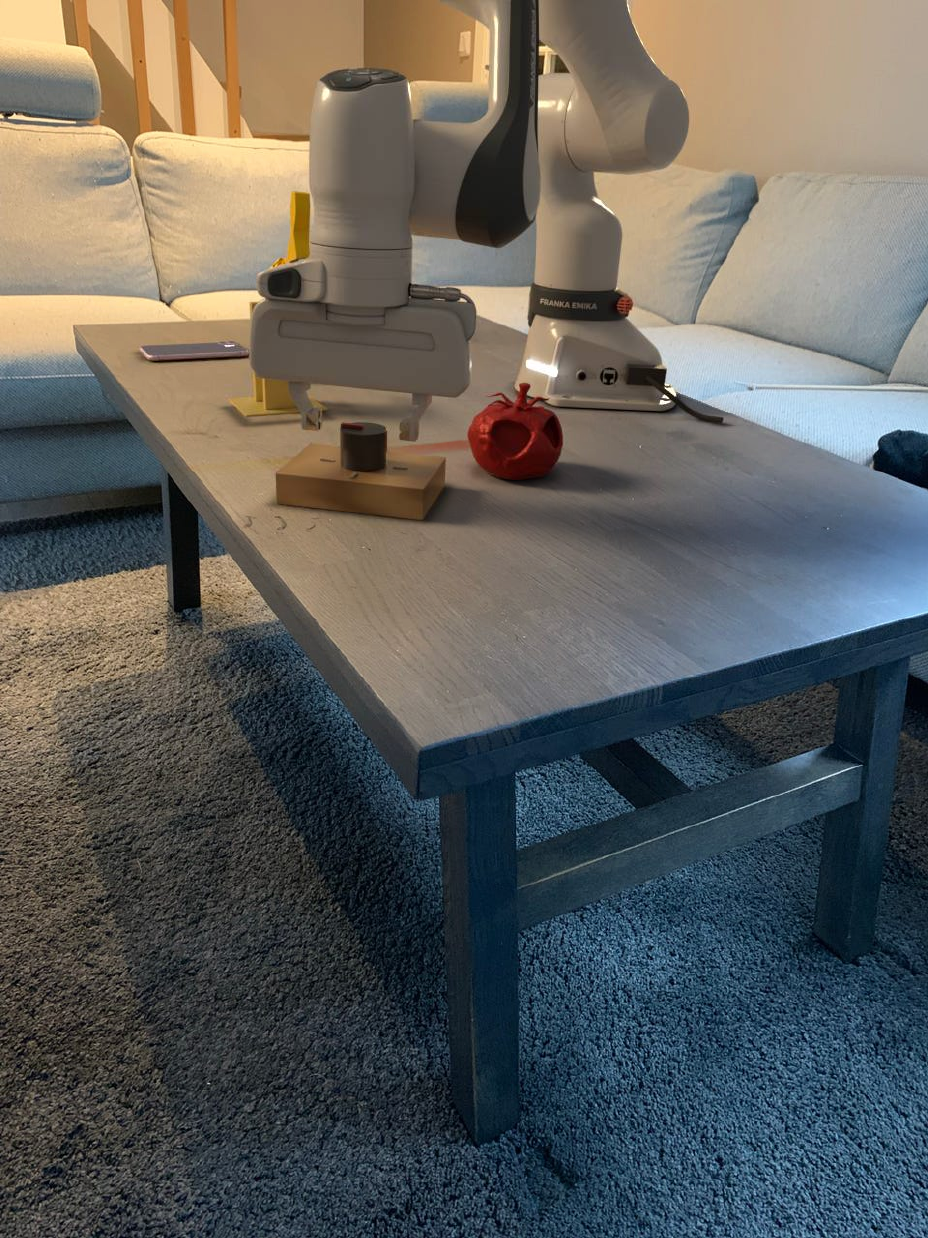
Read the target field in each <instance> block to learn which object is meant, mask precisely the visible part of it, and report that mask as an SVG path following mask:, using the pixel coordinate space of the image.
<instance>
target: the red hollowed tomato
mask: <svg viewBox="0 0 928 1238" xmlns="http://www.w3.org/2000/svg"><path fill="white" fill-rule="evenodd" d="M519 387H520V392H518V391H517V390H516V391H515V396H517V397H516V400H515V401H514V402H513V401H512V400H510V398H508V397H507V396H506V395H505V394H504V393H503V392H496V393H493V394H492V395H486V398H493V397H498V396H500V397H501V398H502V399H503V400H501V399H497V400H494V401H493V402H491V403H490V404H487V406H486V407H484V409H483V410H482V411H481V412H479V413H478V414H476V415H475V416H474V417H473V418H472V421H471V424H470V425H469V427H468V429H467V430H468V431H467V440H468V443H469V446H470V450H471V453H472V456H473V458H474V460H475V462H476V463H477V465H478V466H479V467H480V468H481V469H482V470H483V471H485V472H486V473H488V474H490V475H491V476H495V477H497V478H500V479H504V480H505V479H506V480H514V481H515V480H518V481H519V480H526V479H534V478H540V477H545V476H546V475H547V474H549V473H550V472H552V470H553V469H554V468H555V466H556V465H557V463H558V461H559V459H560V457H561V454H562V449H563V445H564V435H563V427H562V424H561V422H560V420H559V417H558V416H557V414H556V413H555V412H554V411H552V410H551V409H548V408H545V407H544V406H542V405H538V406H535V404H536V403H538V402H539V401H540V402H541V401H542V402H545V401H548V400H549V398H548V399H545V398H542V397H535V398H534V397H533V398H532V399H530V400H529V401H528V398H527V397H528V395H527V392H528V391H529V389H530V384H528V383H520V384H519Z"/></svg>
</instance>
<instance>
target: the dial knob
mask: <svg viewBox="0 0 928 1238" xmlns="http://www.w3.org/2000/svg"><path fill="white" fill-rule="evenodd" d="M339 433H340V435H339V446H340V460H341V466H343V467H344V468H346V469H349V470H354V471H375V470H380V469H383V468H384V467H386V465H387V451H388V428H387V427H386V426H385V425H383V424H379V423H375V422H369V421H366V422H365V421H357V422H341V423H340V428H339Z"/></svg>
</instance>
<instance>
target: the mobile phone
mask: <svg viewBox="0 0 928 1238" xmlns="http://www.w3.org/2000/svg"><path fill="white" fill-rule="evenodd" d="M139 351H140V353H141V354H142V355H143V356H144V357H145V359H147V360H148V361H150V362H151V361H152V362H156V361H157V362H160V361H161V362H162V361H176V360H177V361H179V360H197V359H199V360H200V359H216V358H218V359H219V358H236V357H237V358H238V357H247V356H249V349H248V348H245V346H243V345H242V344H240V343H239V342H237V341H232V340H229V341H218V342H197V343H195V342H193V343H174V344H149V345H142V346H140V347H139Z"/></svg>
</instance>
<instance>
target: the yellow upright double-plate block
mask: <svg viewBox="0 0 928 1238" xmlns="http://www.w3.org/2000/svg"><path fill="white" fill-rule="evenodd" d="M258 302H259V301H249V316H250V317H249V318H250V319H249V320H250V324H251V316H252V312H253V309H254V307H255V306H256V304H257V303H258ZM252 379H253V380H252V381H253V396H245V397H231V398H230V397H229V398H228V402H230V404H232V406H234V407H235V408H236V409H237V410H238V411H239V412H240V413H241V414H242V415H243V416H244V417H245V418H248V417H263V416H276V415H289V414H301V412H300V411H299V409H298V407H297V406H296V404H295V402H294V401H293V399H292V397H291V395H290V394H289V381H282V380H272V379H262V378H259V377H258V376H257V375H256V374H255V372H254V371H253V370H252ZM307 395H308V397H309V399H310V401H311V403H312V405H313V407H314V408H316V409H322V412H328V408H327V407H325V406H324V405H323V404H321V403H320V402H319V401H317V400H316V398H313V397H312V396H311V395H309V394H308V393H307Z"/></svg>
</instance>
